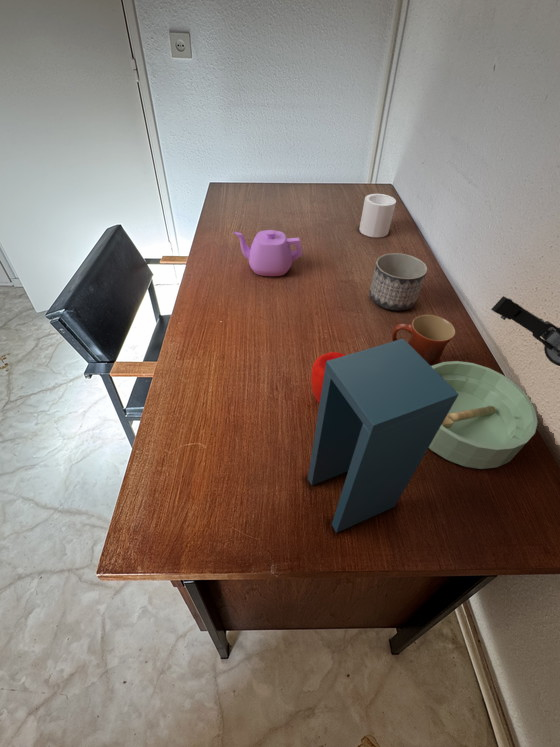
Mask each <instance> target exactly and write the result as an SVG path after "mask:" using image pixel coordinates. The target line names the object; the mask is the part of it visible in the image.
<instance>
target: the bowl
mask: <svg viewBox="0 0 560 747" xmlns="http://www.w3.org/2000/svg"><path fill="white" fill-rule="evenodd" d="M431 367H432V368H433V369H434V370H435V371H436V372H437V373H438V374H439V375H440V376H441V377H442V378H443V379H444V380H445V381H446V382H447V383H448V384H449V385H450V386H451V387H452V388H453V389H454V390H455V391H456V392H457V393H458V394H459V395H458V397H457V399H456V400H455V402H454V404H453V405H452V407H451V409H450V411H449V412H448V414H451V413H456V412H461V411H466V410H471V409H477V408H482V407H487V406H493V407H495V409H496V412H495V413H494V414H489V415H485V416H480V417H475V418H470V419H465V420H461V421H456V422H454V424H453V425H452V426H451V427H450V428H445V427H444V426H443V425H441V427H440V428H439V430H438V432H437V434H436V435H435V437H434V439H433V441H432V442H431V444H430V446H429V448H428V449H429V450H430V451H432V452H434V453H435V454H437V455H438V456H439V457H442V458H443V459H445V460H446V461H449V462H451V463H454V464H455V465H456V464H457V465H459V466H462V467H465V468H471V469H479V470H485V469H494V468H499V467H501V466H503V465H506V464H509V463H510V462H511V461H512V460H513V459H514V458H515V457H516V455H517V454H518V453H519V452H520V451H521V450H522V449H523V448H524V447H525V445H526V444H527V443H528V442H529V441H530V440H531V439H532V437H533V436H534V435H535V434H536V432H537V427H538V423H539V421H538V416H537V412H536V411H537V410H536V408H535V406H534V405H533V403H532V401H531V399H530V398H529V396H528V395H527V394H526V393H525V391H523V389H521V387H520V386H519V385H518V384H516V382H514V381H512V380H511V379H509V378H508V377H507V376H505V375H504V374H502V373H500V372H498V371H496V370H494V369H492V368H490V367H488V366H484V365H480V364H477V363H474V362H468V361H460V360H453V361H451V360H450V361H442V362H439V363H438V364H436V365H433V366H431Z"/></svg>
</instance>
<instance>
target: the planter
mask: <svg viewBox="0 0 560 747" xmlns="http://www.w3.org/2000/svg"><path fill="white" fill-rule="evenodd" d="M427 273H428V267H427V264H426V263H425V262H424V261H423V260H421V259H420V258H418V257H416V256H413V255H410V254H406V253H400V252H390V253H385V254H383V255H381V256H379V257H378V258H377V259H376V262H375V266H374V270H373V275H372V279H371V283H370V288H369V290H368V292H369V293H368V294H369V298H370V299H371V301H372V302H373V303H374V304H376V305H377V306H378V307H382V308H383V309H387V310H392V311H405V310H409V309H411V308H413V307H414V306H415V305H416V304H417V301H418V299H419V296H420V293H421V290H422V287H423V284H424V281H425V280H426V279H425V278H426V276H427Z"/></svg>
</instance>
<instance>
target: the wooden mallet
mask: <svg viewBox="0 0 560 747" xmlns="http://www.w3.org/2000/svg"><path fill="white" fill-rule="evenodd" d="M495 412H496V409H495V407H493V406H487V407H482V408H477V409H471V410H466V411H461V412H456V413H451V414H447V416H446V418H445V419H444V421H443V423H442V425H443V426H444V427H445V428H450V427H451V426H452V425H453V424H454V422H456V421H461V420H465V419H470V418H475V417H480V416H485V415H489V414H494V413H495Z"/></svg>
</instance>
